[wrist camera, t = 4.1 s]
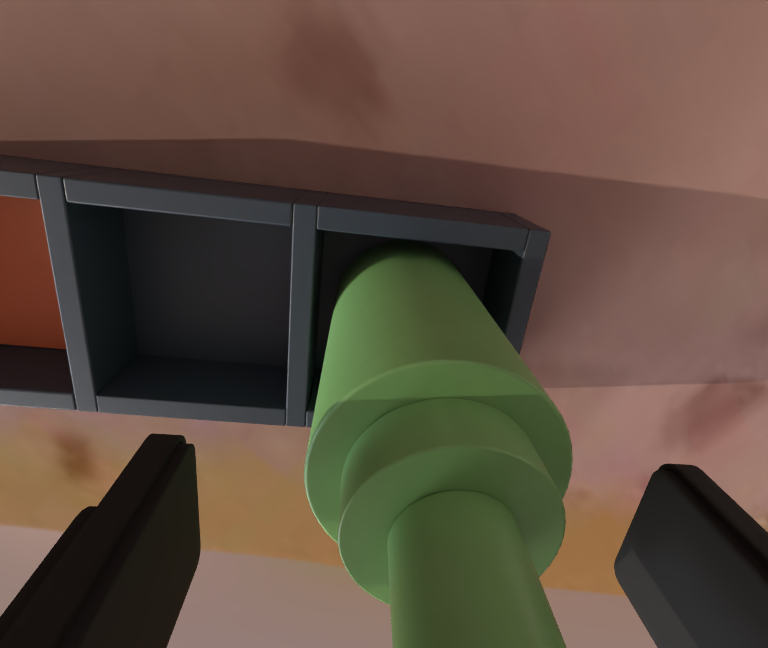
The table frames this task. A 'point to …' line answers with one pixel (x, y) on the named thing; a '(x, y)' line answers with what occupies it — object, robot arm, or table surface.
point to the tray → (208, 286)
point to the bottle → (437, 457)
